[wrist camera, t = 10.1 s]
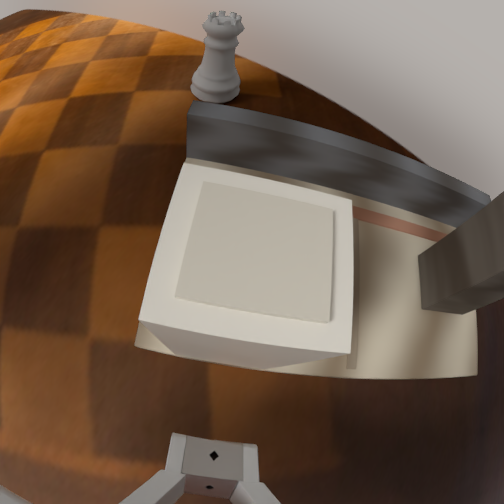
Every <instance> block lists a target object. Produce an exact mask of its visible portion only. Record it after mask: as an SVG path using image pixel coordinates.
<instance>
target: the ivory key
mask: <svg viewBox="0 0 504 504" xmlns="http://www.w3.org/2000/svg"><path fill="white" fill-rule="evenodd" d="M352 316H353V216H352V200H350V199H346V198H342V197H339V196H335V195H331V194H327V193H323V192H319V191H316V190H312V189H307V188H303V187H299V186H295V185H291V184H287V183H282V182H278V181H273V180H269V179H264V178H260V177H255V176H250V175H246V174H241V173H236V172H231V171H226V170H220V169H215V168H210V167H204V166H199V165H193V164H187V163H183V166H182V169H181V172H180V175H179V178H178V181H177V184H176V186H175V189H174V193H173V196H172V199H171V202H170V205H169V208H168V211H167V214H166V218H165V221H164V224H163V228H162V231H161V234H160V238H159V241H158V245H157V248H156V252H155V255H154V259H153V263H152V266H151V270H150V274H149V278H148V282H147V286H146V290H145V294H144V298H143V302H142V306H141V311H140V315H139V319H138V320H139V321H140V322H141V323H142V324H143V325H144V326H145V327H146V328H147V329H148V330H149V331H150V332H151V333H153V334H154V335H155V336H156V337H157V338H158V339H159V340H160V341H161V342H162V343H163V344H164V345H165V346H166V347H167V348H168V349H169V350H171V351H172V352H173V353H174V354H175V355H179V356H184V357H189V358H194V359H199V360H205V361H210V362H216V363H222V364H228V365H234V366H241V367H248V368H255V369H269V368H275V367H282V366H288V365H294V364H300V363H306V362H311V361H317V360H322V359H327V358H332V357H337V356H342V355H346V354H350V352H351V336H352Z"/></svg>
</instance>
